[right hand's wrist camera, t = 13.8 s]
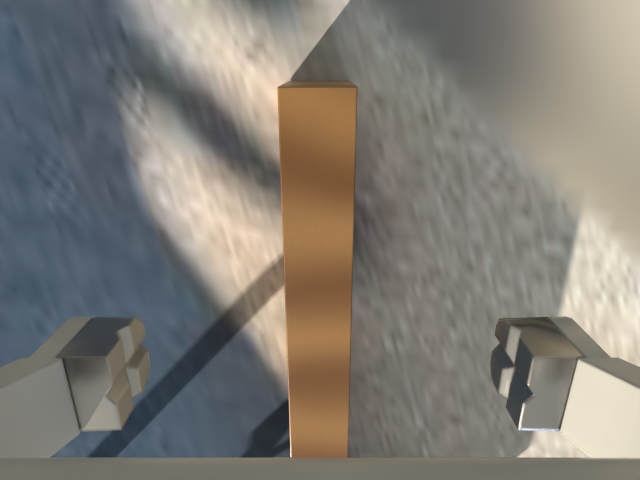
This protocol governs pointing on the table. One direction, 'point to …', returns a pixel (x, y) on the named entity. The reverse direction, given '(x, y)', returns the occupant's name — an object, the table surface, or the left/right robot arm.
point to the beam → (318, 259)
